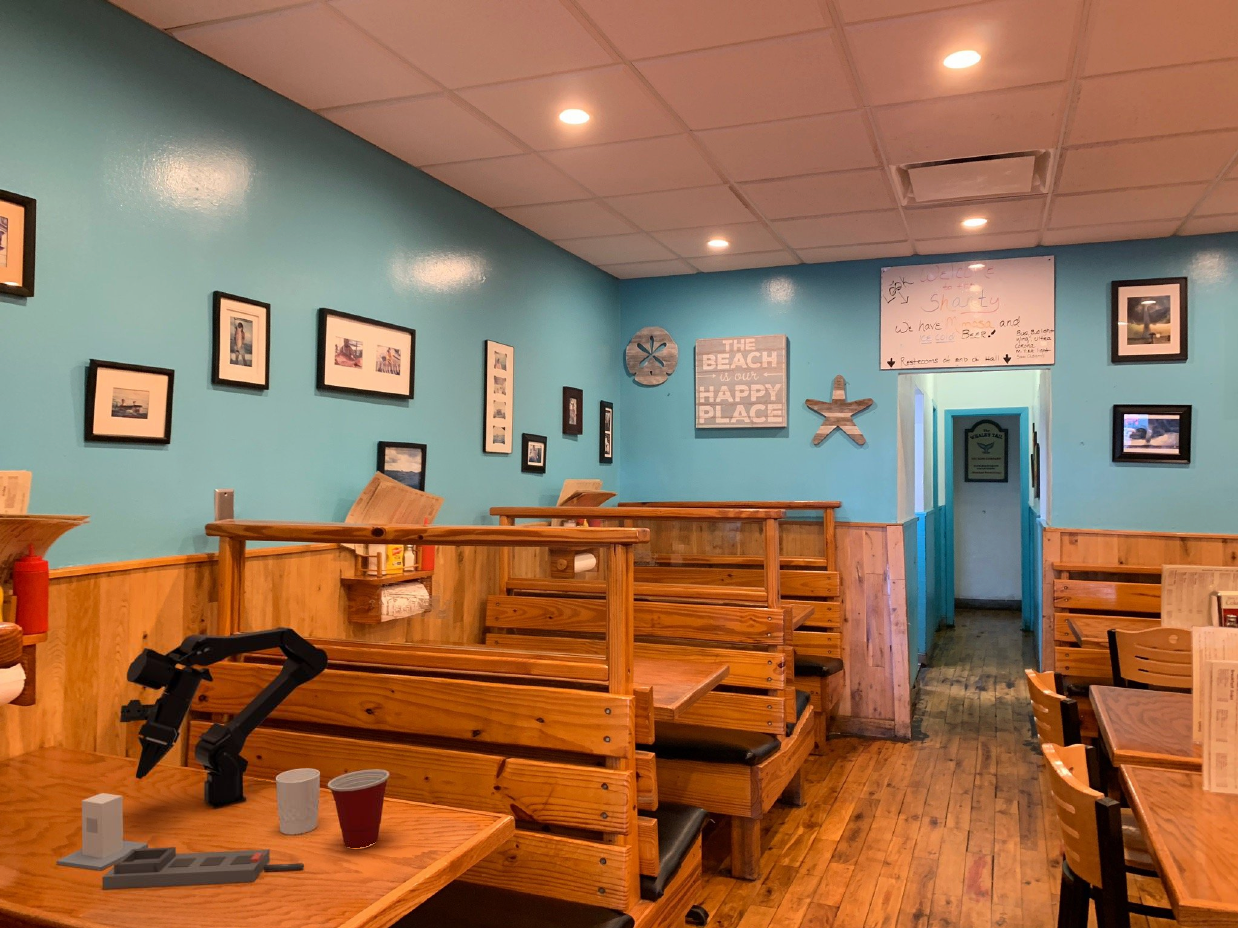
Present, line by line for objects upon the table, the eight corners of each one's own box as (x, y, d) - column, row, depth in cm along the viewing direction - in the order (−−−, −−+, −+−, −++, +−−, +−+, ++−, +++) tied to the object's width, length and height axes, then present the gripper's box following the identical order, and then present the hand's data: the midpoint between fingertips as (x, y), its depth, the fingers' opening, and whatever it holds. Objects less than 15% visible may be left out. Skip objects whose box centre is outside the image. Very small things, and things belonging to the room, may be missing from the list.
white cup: (329, 822, 172) (328, 770, 172) (302, 838, 164) (301, 783, 164) (295, 818, 174) (294, 766, 174) (267, 833, 167) (266, 779, 167)
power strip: (102, 889, 145) (102, 867, 145) (126, 867, 153) (126, 847, 153) (297, 879, 147) (296, 858, 147) (310, 858, 155) (310, 838, 155)
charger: (103, 845, 161) (102, 792, 162) (123, 849, 160) (122, 795, 160) (81, 854, 158) (81, 800, 158) (102, 858, 156) (101, 803, 156)
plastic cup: (353, 828, 169) (352, 764, 169) (402, 834, 165) (401, 769, 165) (315, 851, 158) (314, 783, 158) (367, 858, 155) (366, 789, 155)
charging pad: (105, 841, 165) (105, 837, 165) (148, 846, 162) (148, 843, 162) (56, 863, 155) (56, 860, 155) (101, 870, 152) (101, 866, 152)
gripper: (139, 686, 183) (102, 763, 177) (131, 681, 167) (89, 766, 161) (194, 703, 187) (159, 779, 181) (191, 700, 170) (153, 784, 164)
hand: (140, 777), depth 171 cm, fingers open, 9 cm apart
